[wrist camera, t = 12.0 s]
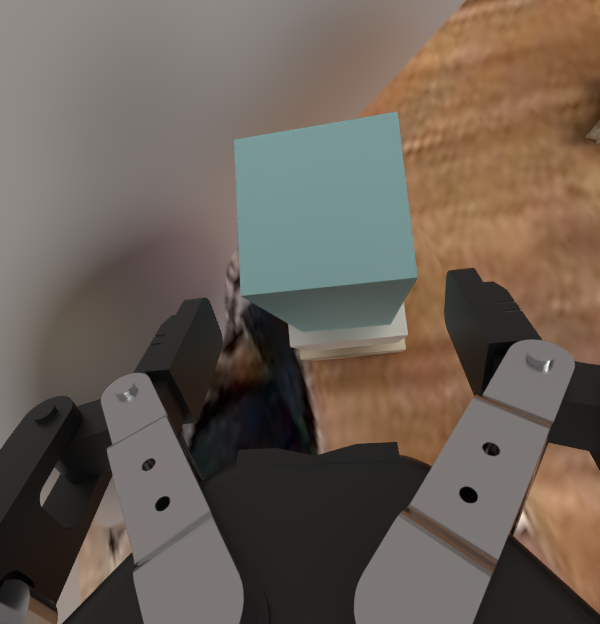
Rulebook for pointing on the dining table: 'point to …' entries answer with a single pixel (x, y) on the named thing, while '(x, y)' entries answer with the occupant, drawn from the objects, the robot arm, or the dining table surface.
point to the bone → (595, 133)
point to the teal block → (325, 223)
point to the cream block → (350, 335)
